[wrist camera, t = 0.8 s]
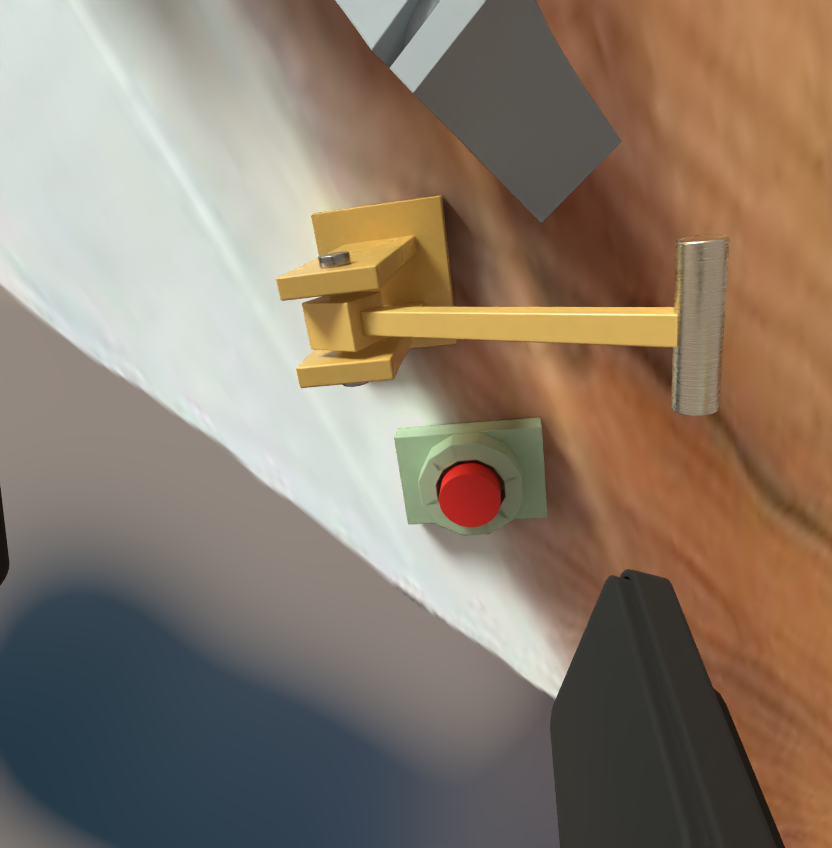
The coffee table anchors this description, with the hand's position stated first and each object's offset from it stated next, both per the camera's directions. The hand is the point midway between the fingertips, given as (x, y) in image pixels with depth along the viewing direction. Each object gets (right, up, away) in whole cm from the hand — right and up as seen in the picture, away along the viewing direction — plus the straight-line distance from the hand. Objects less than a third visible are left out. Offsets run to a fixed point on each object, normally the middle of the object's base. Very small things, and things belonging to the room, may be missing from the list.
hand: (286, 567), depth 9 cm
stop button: (+6, -2, +31) cm, 32 cm away
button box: (+6, -1, +34) cm, 34 cm away
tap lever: (+5, +6, +15) cm, 17 cm away
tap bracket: (0, +12, +29) cm, 32 cm away
